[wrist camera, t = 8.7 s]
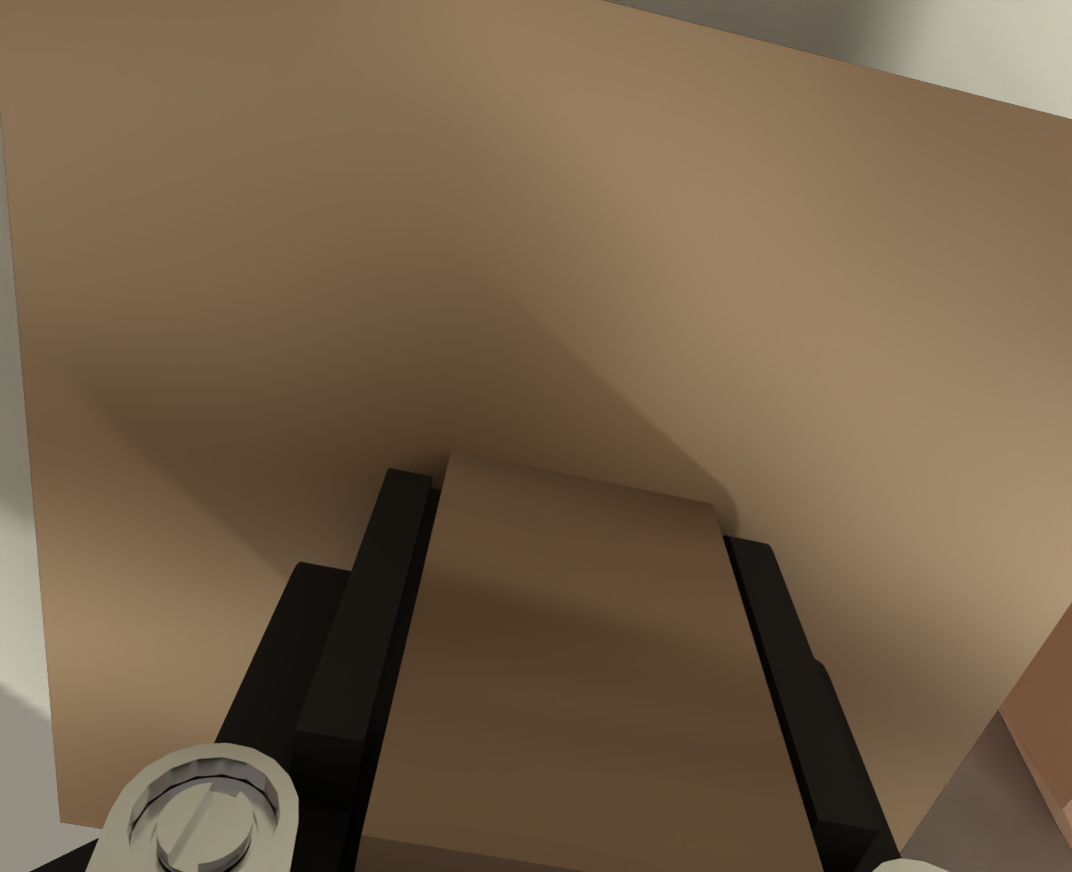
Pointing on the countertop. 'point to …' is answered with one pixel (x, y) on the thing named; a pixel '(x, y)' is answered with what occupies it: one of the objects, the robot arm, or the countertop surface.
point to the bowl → (1047, 721)
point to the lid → (536, 400)
